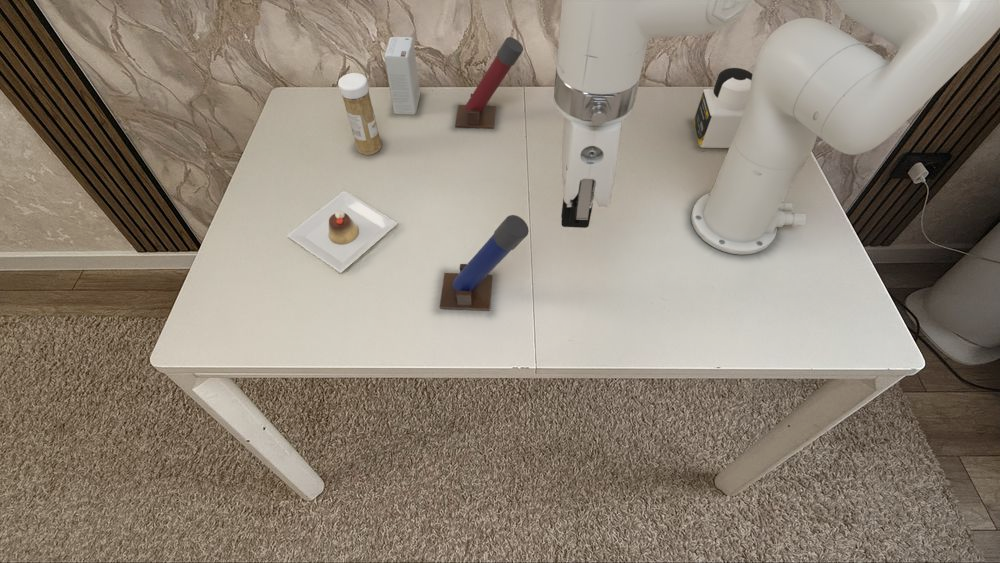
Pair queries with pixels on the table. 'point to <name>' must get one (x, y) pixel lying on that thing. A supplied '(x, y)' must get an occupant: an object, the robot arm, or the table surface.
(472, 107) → the marker far
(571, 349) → the table surface
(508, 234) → the marker
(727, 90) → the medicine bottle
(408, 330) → the table surface
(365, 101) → the sprinkles bottle
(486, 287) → the stand near
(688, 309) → the table surface
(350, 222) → the dessert
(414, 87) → the cosmetic box
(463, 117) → the stand far
